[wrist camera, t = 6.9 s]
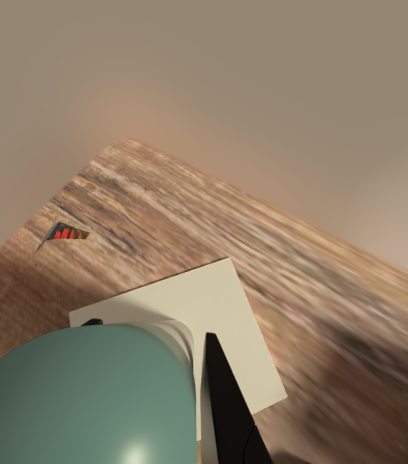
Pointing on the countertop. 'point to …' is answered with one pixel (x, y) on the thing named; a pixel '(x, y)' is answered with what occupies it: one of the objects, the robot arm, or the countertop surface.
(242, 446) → the robot arm
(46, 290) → the countertop surface
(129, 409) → the marker
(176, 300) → the paper
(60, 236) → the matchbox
